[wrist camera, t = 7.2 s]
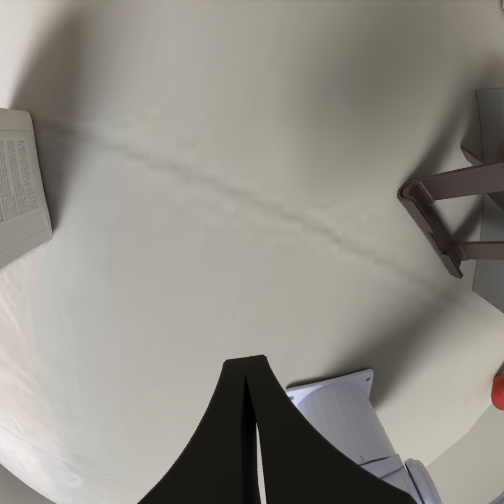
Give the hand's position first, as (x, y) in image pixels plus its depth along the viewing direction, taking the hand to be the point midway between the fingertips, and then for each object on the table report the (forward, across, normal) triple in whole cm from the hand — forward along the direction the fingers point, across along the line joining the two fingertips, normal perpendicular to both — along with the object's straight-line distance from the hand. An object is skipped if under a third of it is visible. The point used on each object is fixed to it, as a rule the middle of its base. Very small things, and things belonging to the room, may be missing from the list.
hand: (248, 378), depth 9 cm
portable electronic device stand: (+10, -16, -3) cm, 19 cm away
